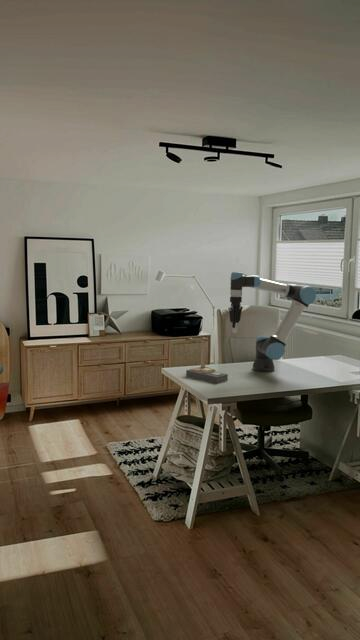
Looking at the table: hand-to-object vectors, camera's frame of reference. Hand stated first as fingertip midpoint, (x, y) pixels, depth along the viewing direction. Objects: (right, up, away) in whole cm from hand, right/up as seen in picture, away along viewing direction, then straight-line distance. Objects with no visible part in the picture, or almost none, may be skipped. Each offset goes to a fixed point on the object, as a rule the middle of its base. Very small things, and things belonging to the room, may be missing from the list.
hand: (234, 332), depth 341 cm
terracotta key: (-24, -27, -1) cm, 36 cm away
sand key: (-18, -26, -6) cm, 32 cm away
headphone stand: (-18, -26, +15) cm, 36 cm away
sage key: (-13, -28, -11) cm, 33 cm away
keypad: (-18, -29, -6) cm, 35 cm away
